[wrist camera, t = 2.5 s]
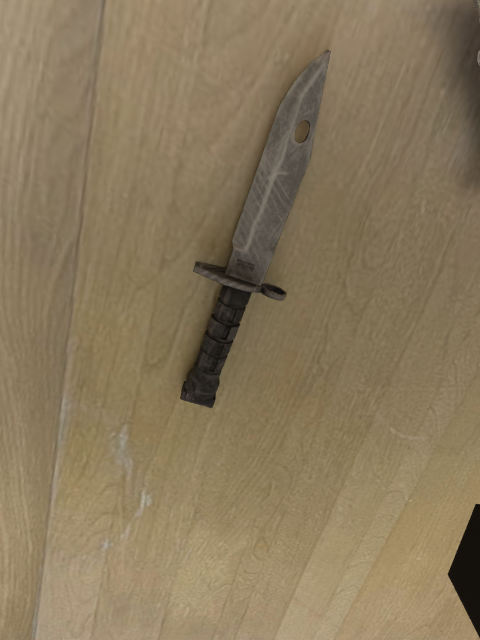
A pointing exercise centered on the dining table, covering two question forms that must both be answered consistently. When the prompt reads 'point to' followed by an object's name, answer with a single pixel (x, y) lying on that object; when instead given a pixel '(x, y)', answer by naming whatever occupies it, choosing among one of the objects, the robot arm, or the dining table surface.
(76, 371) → the dining table surface
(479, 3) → the packaged food
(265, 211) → the knife
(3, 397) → the dining table surface
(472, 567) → the robot arm
